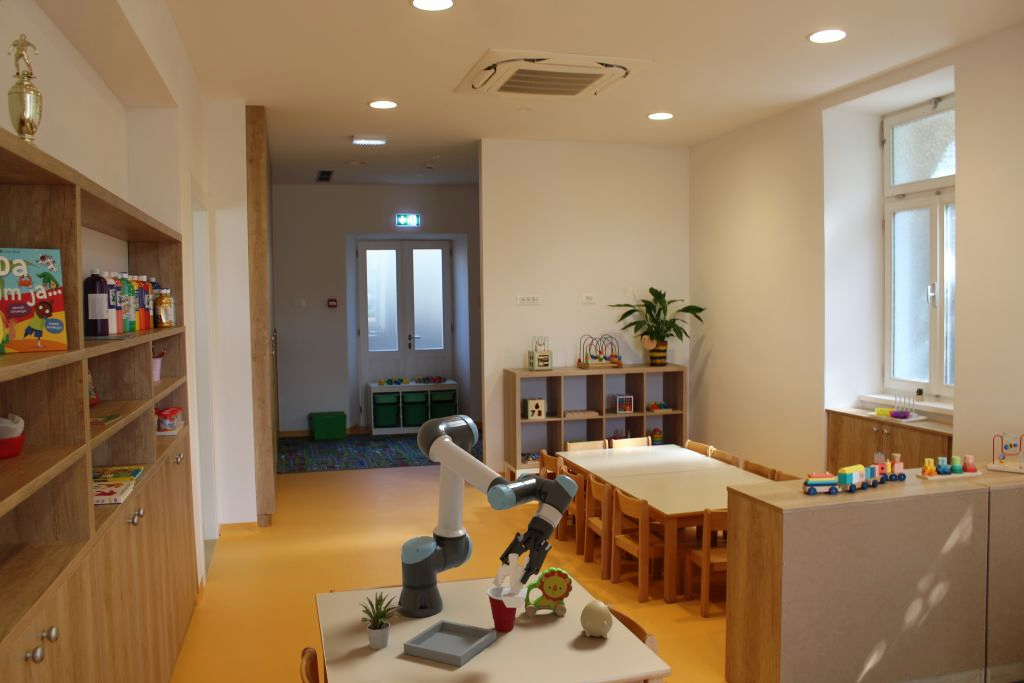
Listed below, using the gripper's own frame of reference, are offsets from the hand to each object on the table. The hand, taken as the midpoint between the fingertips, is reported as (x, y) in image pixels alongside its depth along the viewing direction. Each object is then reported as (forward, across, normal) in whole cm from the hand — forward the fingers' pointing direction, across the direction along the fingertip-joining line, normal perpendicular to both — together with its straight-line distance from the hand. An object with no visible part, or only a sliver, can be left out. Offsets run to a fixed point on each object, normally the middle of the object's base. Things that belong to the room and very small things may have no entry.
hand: (504, 588), depth 233 cm
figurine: (+2, 0, -7) cm, 7 cm away
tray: (+19, +18, -10) cm, 28 cm away
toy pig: (-7, -7, -36) cm, 38 cm away
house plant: (+31, +33, +2) cm, 45 cm away
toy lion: (-8, +16, -37) cm, 41 cm away
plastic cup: (+5, +16, -24) cm, 30 cm away
